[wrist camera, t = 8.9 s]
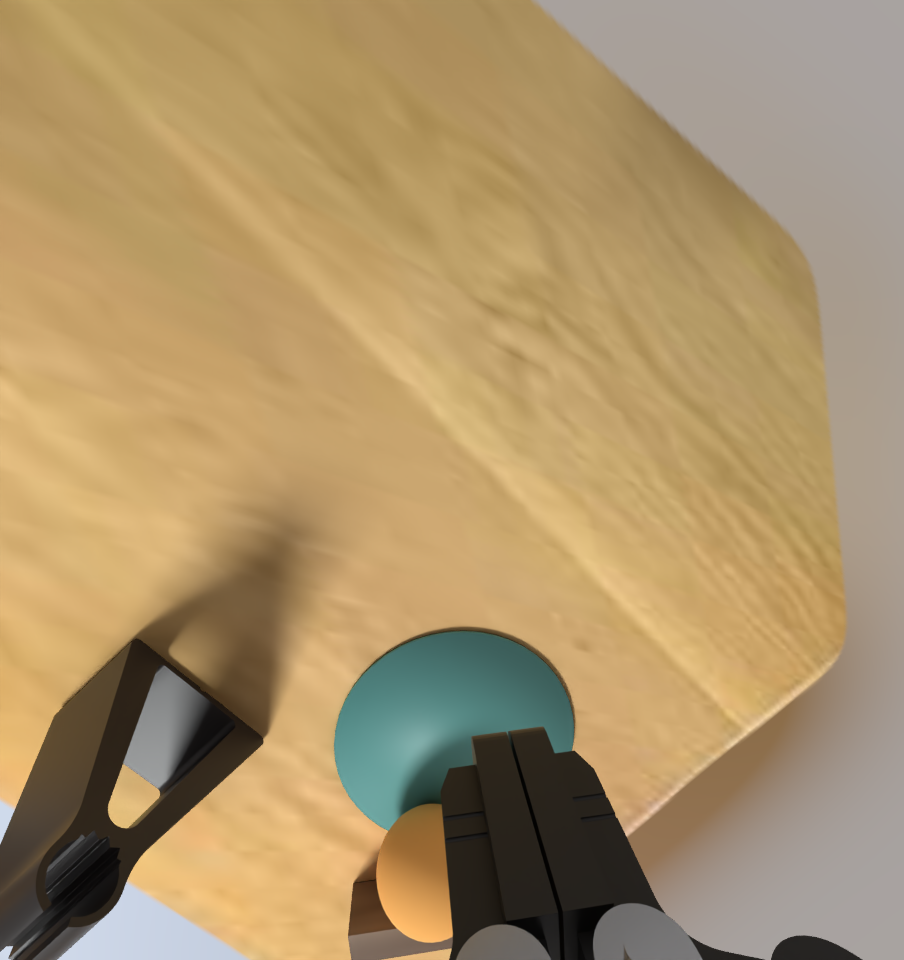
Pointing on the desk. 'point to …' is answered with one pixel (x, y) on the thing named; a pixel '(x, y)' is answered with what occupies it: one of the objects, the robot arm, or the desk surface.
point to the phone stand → (107, 796)
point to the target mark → (439, 716)
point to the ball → (416, 875)
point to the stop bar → (379, 929)
